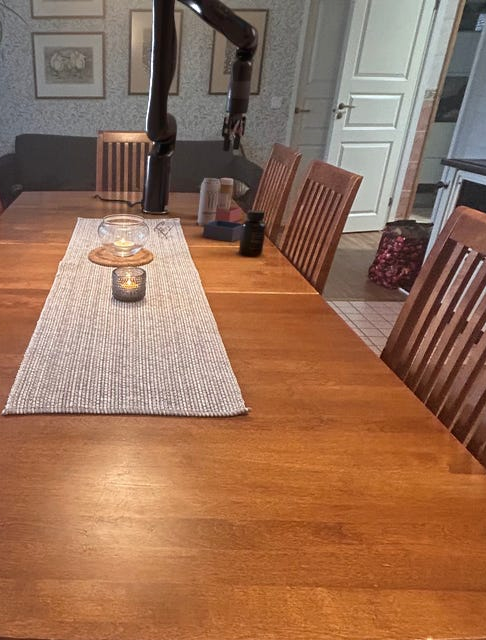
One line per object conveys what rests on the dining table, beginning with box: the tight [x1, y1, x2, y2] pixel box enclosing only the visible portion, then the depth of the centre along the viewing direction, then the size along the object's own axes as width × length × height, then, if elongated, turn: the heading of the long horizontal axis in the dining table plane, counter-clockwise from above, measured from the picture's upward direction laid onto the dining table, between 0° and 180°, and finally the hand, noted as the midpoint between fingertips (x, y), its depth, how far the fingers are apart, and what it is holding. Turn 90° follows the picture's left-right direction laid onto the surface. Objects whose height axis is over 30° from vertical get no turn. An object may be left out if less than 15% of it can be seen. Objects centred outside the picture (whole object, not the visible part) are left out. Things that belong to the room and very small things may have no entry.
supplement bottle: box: [238, 209, 267, 258], centre depth 172 cm, size 7×7×12 cm
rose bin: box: [215, 204, 242, 222], centre depth 220 cm, size 10×10×4 cm
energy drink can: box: [197, 177, 220, 227], centre depth 206 cm, size 6×6×15 cm
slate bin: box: [202, 220, 243, 243], centre depth 193 cm, size 10×10×4 cm
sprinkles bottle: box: [217, 177, 234, 211], centre depth 217 cm, size 5×5×14 cm
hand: (230, 150), depth 208 cm, fingers open, 8 cm apart
